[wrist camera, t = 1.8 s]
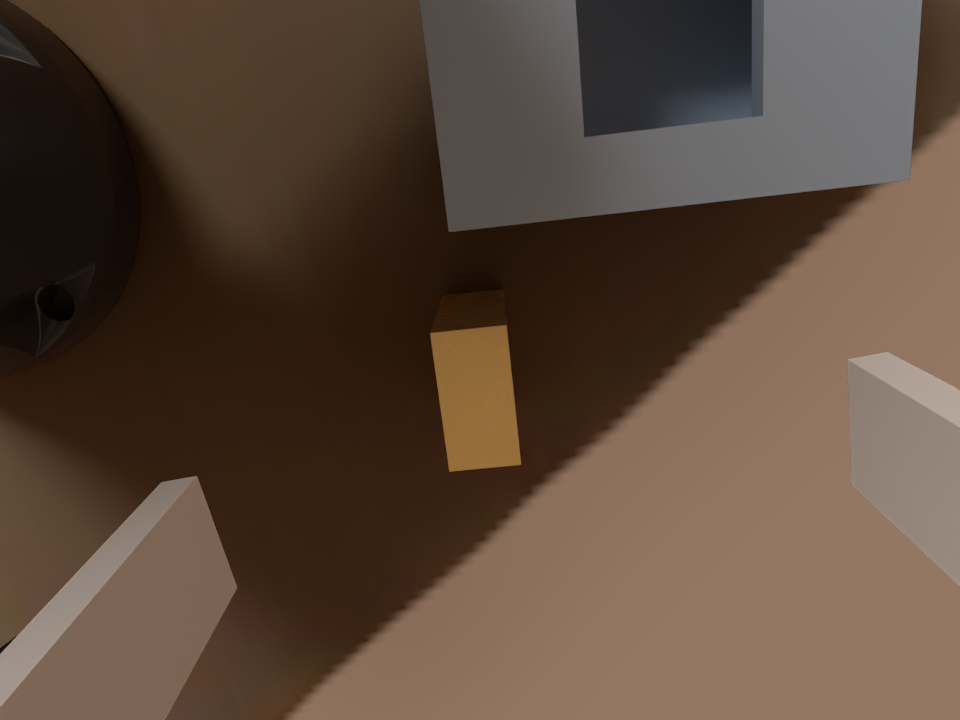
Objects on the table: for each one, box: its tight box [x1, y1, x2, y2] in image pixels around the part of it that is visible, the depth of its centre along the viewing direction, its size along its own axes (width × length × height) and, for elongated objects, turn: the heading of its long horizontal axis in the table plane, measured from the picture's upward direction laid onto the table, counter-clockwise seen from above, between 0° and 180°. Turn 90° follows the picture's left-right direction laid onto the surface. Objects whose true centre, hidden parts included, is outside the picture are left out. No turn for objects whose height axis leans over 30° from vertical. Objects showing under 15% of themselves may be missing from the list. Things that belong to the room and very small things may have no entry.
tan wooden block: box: [430, 289, 521, 472], centre depth 26 cm, size 2×5×6 cm, turn 6°
